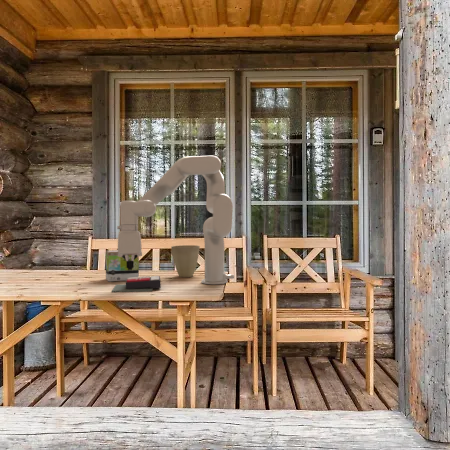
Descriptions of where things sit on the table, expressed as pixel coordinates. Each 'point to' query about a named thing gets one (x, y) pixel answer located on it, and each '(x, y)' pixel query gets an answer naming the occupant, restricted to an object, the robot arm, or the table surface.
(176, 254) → the plant pot
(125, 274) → the tea box
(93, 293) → the table surface
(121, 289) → the mat
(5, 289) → the table surface
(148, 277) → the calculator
